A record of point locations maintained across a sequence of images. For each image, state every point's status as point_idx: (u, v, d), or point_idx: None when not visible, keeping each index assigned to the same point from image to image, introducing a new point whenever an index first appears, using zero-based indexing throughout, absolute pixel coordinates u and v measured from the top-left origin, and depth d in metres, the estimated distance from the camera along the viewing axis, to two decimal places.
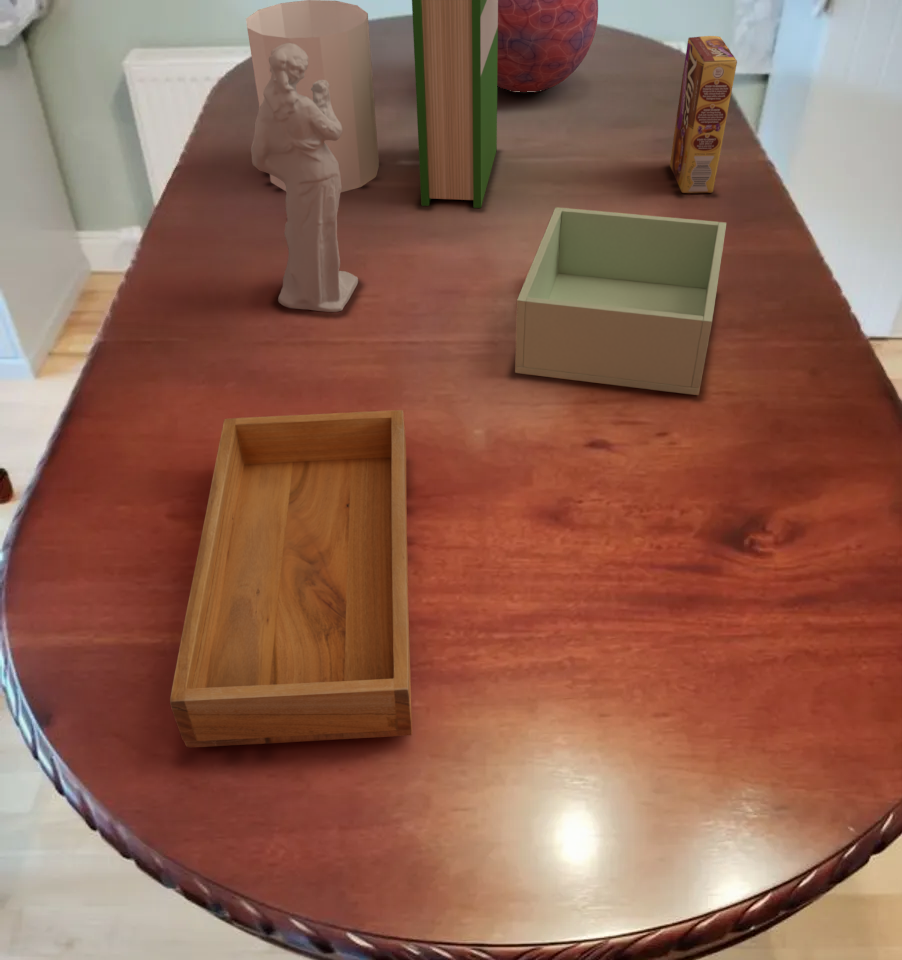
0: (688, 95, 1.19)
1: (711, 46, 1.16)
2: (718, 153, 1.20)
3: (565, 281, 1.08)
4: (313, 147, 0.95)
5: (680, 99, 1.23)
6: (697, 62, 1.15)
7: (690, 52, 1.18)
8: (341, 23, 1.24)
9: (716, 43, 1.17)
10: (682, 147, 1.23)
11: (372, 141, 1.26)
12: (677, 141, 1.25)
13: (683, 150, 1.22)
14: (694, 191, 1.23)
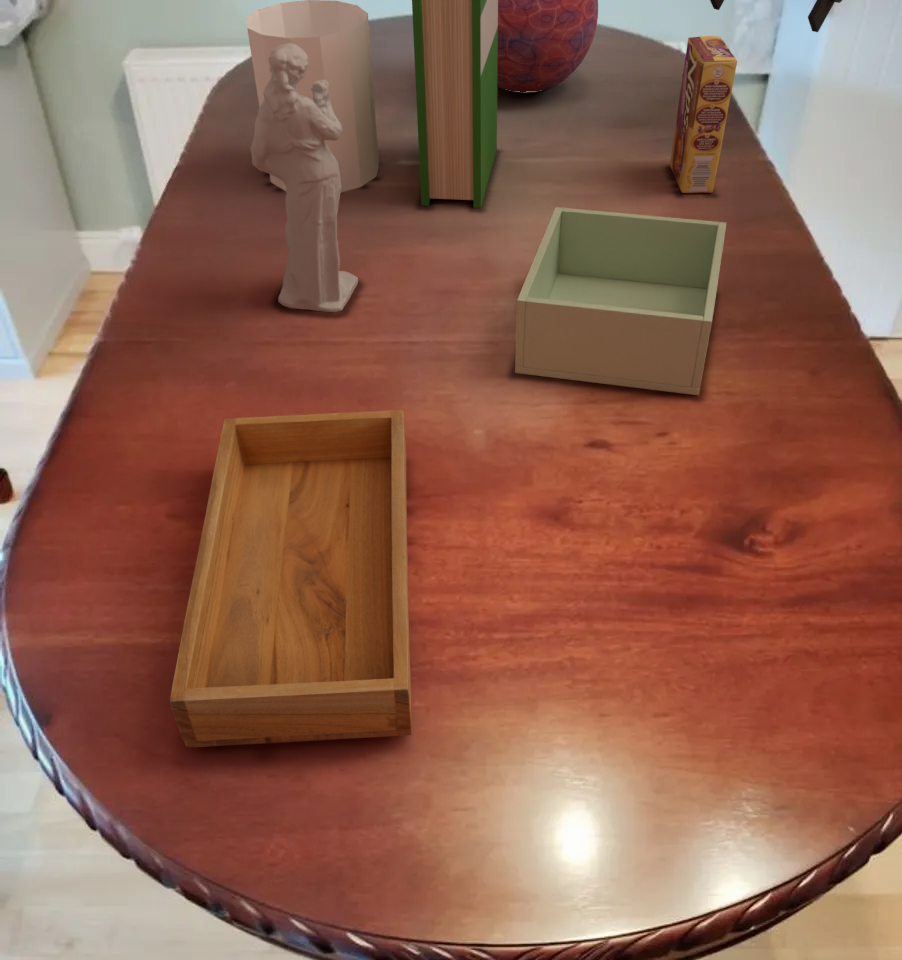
0: (688, 95, 1.19)
1: (711, 46, 1.16)
2: (718, 153, 1.20)
3: (565, 281, 1.08)
4: (313, 147, 0.95)
5: (680, 99, 1.23)
6: (697, 62, 1.15)
7: (690, 52, 1.18)
8: (341, 23, 1.24)
9: (716, 43, 1.17)
10: (682, 147, 1.23)
11: (372, 141, 1.26)
12: (677, 141, 1.25)
13: (683, 150, 1.22)
14: (694, 191, 1.23)
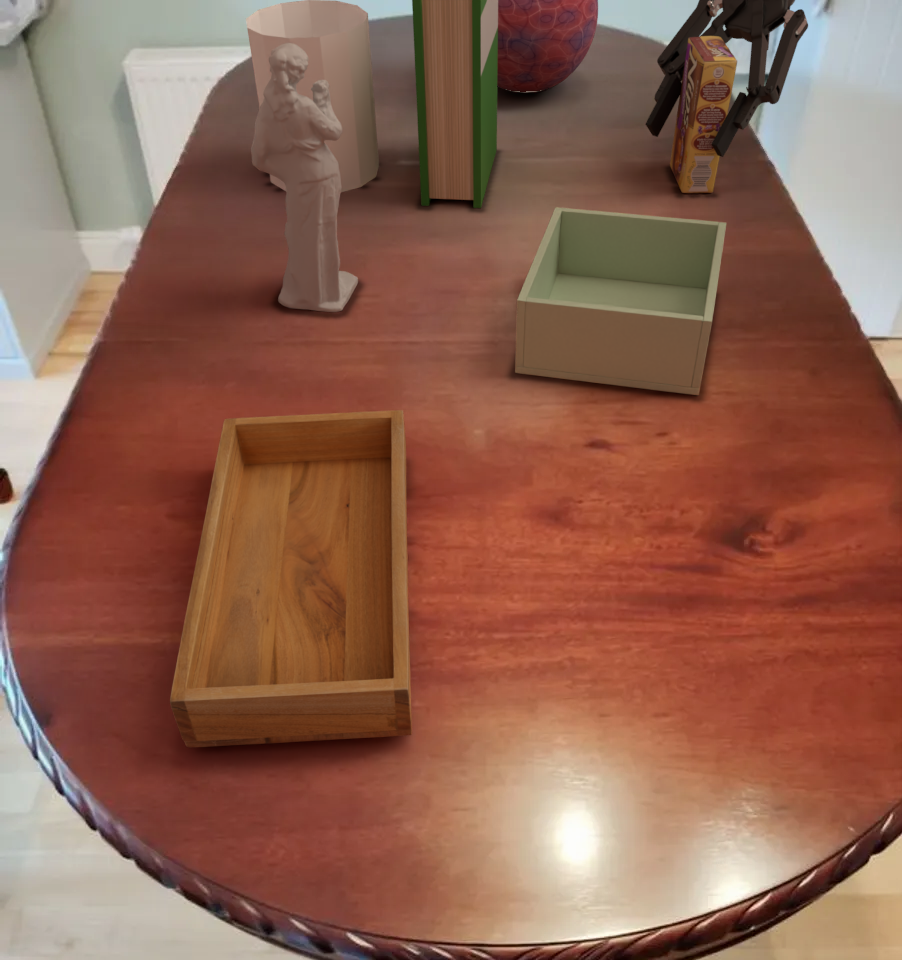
0: (688, 95, 1.19)
1: (712, 46, 1.16)
2: None
3: (565, 281, 1.08)
4: (313, 147, 0.95)
5: (680, 99, 1.23)
6: (698, 62, 1.15)
7: (690, 52, 1.18)
8: (341, 23, 1.24)
9: (716, 43, 1.17)
10: (682, 147, 1.23)
11: (372, 141, 1.26)
12: (677, 141, 1.25)
13: (683, 150, 1.22)
14: (694, 191, 1.23)
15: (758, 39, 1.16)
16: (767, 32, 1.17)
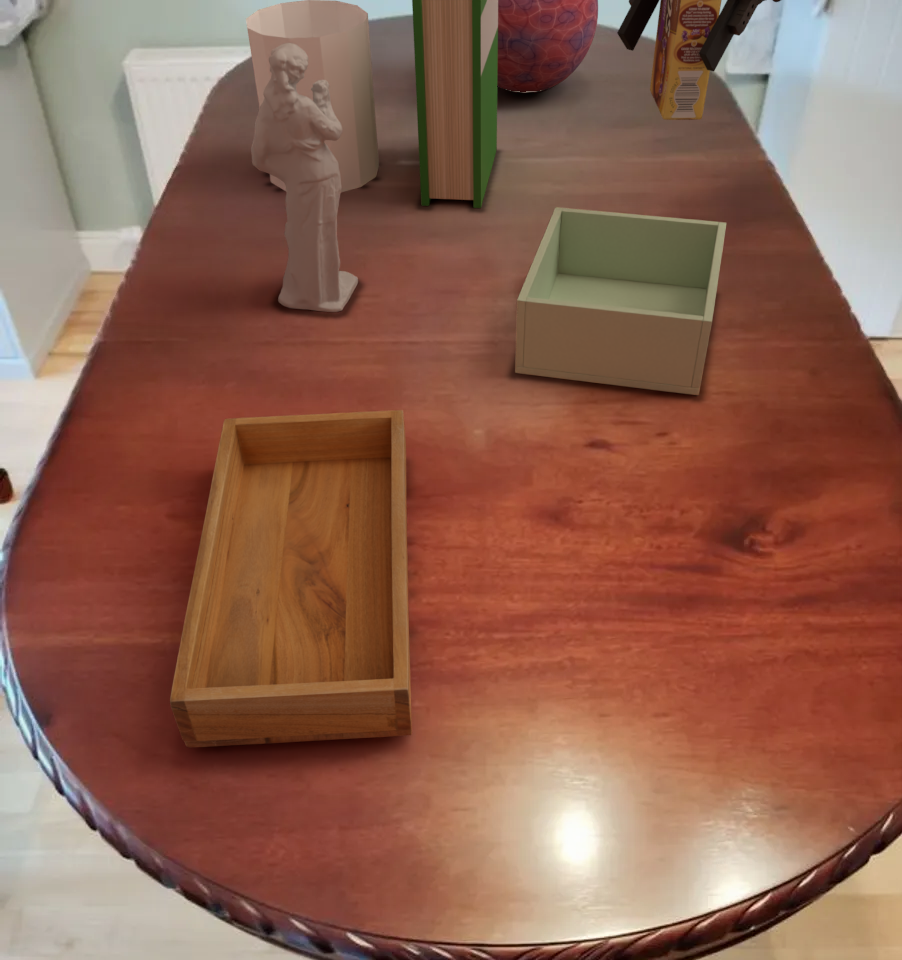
0: None
1: None
2: None
3: (565, 281, 1.08)
4: (313, 147, 0.95)
5: (661, 2, 0.98)
6: None
7: None
8: (341, 23, 1.24)
9: None
10: (663, 62, 0.98)
11: (372, 141, 1.26)
12: (658, 56, 1.00)
13: (665, 65, 0.98)
14: (678, 117, 0.99)
15: None
16: None
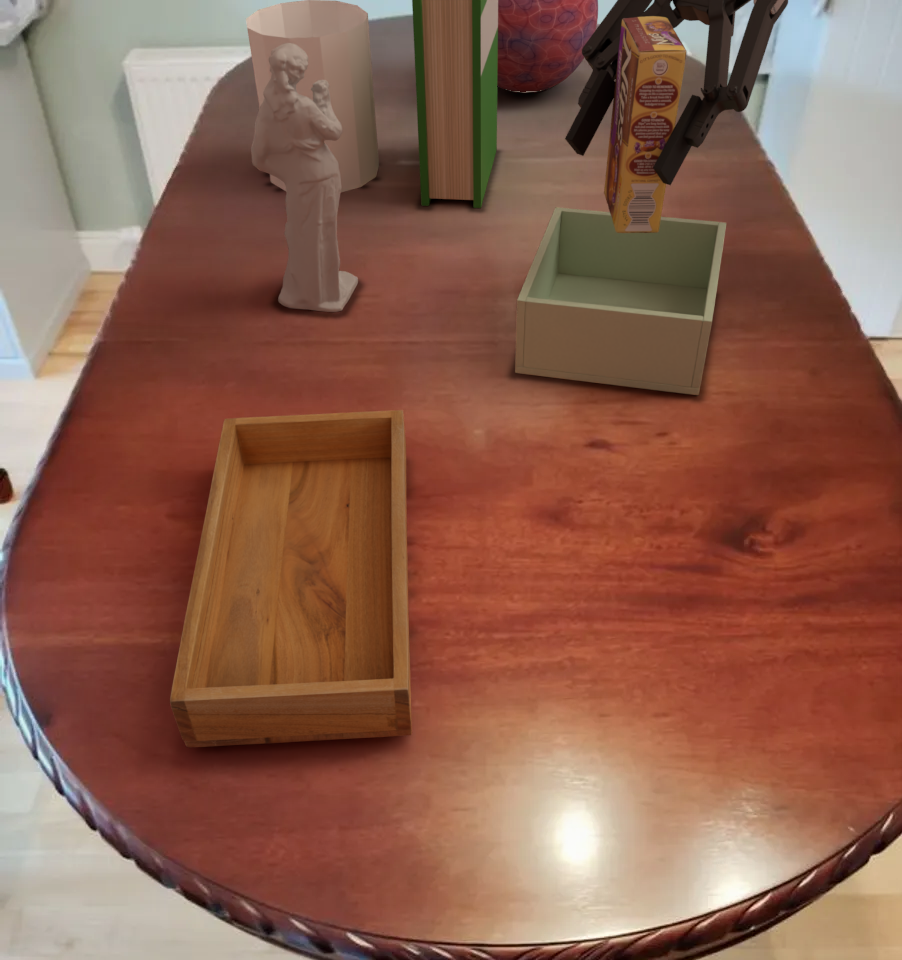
0: (622, 99, 0.86)
1: (653, 30, 0.82)
2: None
3: (565, 281, 1.08)
4: (313, 147, 0.95)
5: (614, 104, 0.89)
6: (632, 52, 0.82)
7: (624, 39, 0.84)
8: (341, 23, 1.24)
9: (659, 26, 0.83)
10: (616, 170, 0.89)
11: (372, 141, 1.26)
12: (611, 161, 0.91)
13: (617, 175, 0.89)
14: (633, 231, 0.90)
15: (718, 21, 0.83)
16: (731, 11, 0.84)
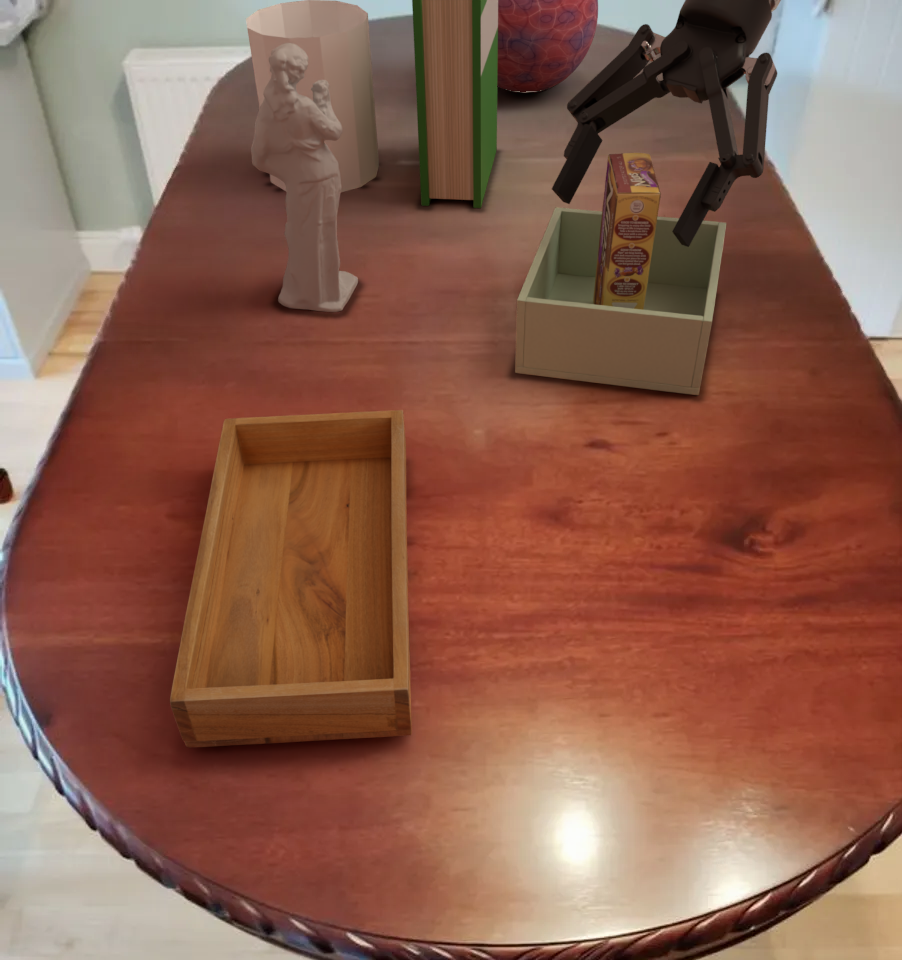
0: (606, 226, 0.94)
1: (633, 169, 0.91)
2: (642, 300, 0.95)
3: (565, 281, 1.08)
4: (313, 147, 0.95)
5: (601, 226, 0.98)
6: (613, 190, 0.90)
7: (609, 174, 0.93)
8: (341, 23, 1.24)
9: (640, 165, 0.92)
10: (600, 287, 0.98)
11: (372, 141, 1.26)
12: (597, 277, 1.00)
13: (601, 292, 0.97)
14: None
15: (717, 96, 0.87)
16: (725, 86, 0.88)
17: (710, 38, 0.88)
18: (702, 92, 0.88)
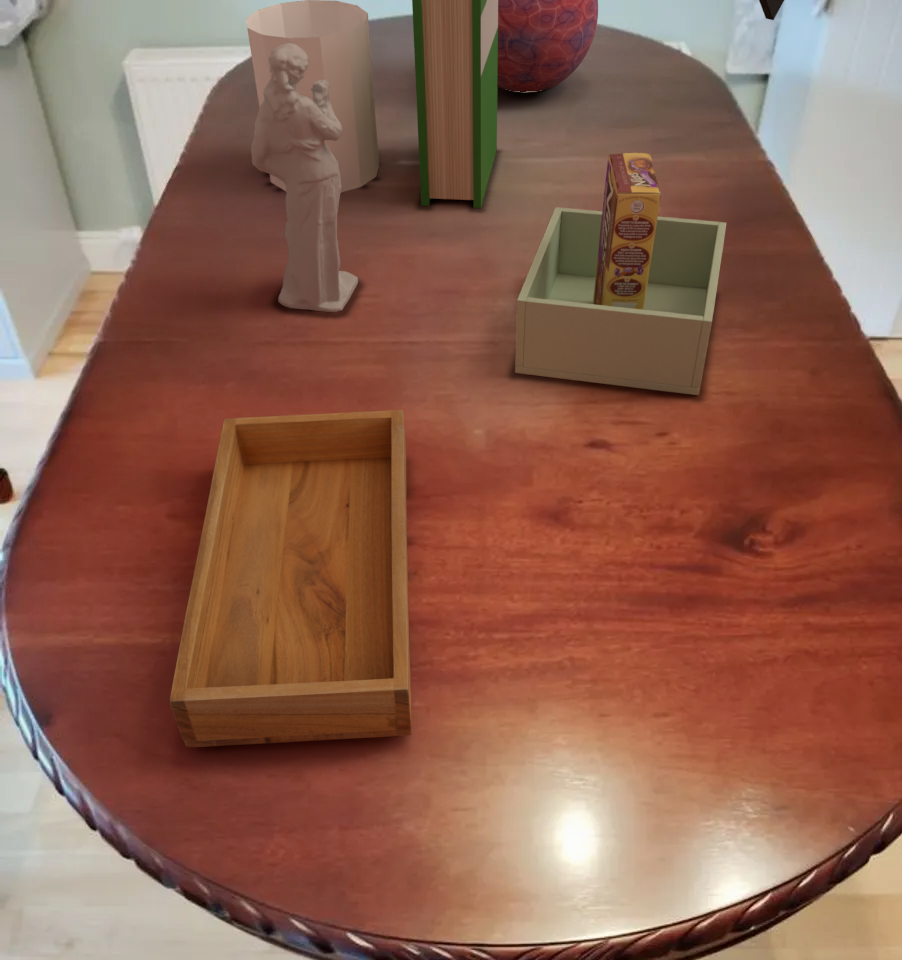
0: (606, 226, 0.94)
1: (633, 169, 0.91)
2: (642, 300, 0.95)
3: (565, 281, 1.08)
4: (313, 147, 0.95)
5: (601, 226, 0.98)
6: (614, 190, 0.90)
7: (609, 174, 0.93)
8: (341, 23, 1.24)
9: (641, 165, 0.92)
10: (600, 287, 0.98)
11: (372, 141, 1.26)
12: (597, 277, 1.00)
13: (601, 292, 0.97)
14: None
15: None
16: None
17: None
18: None
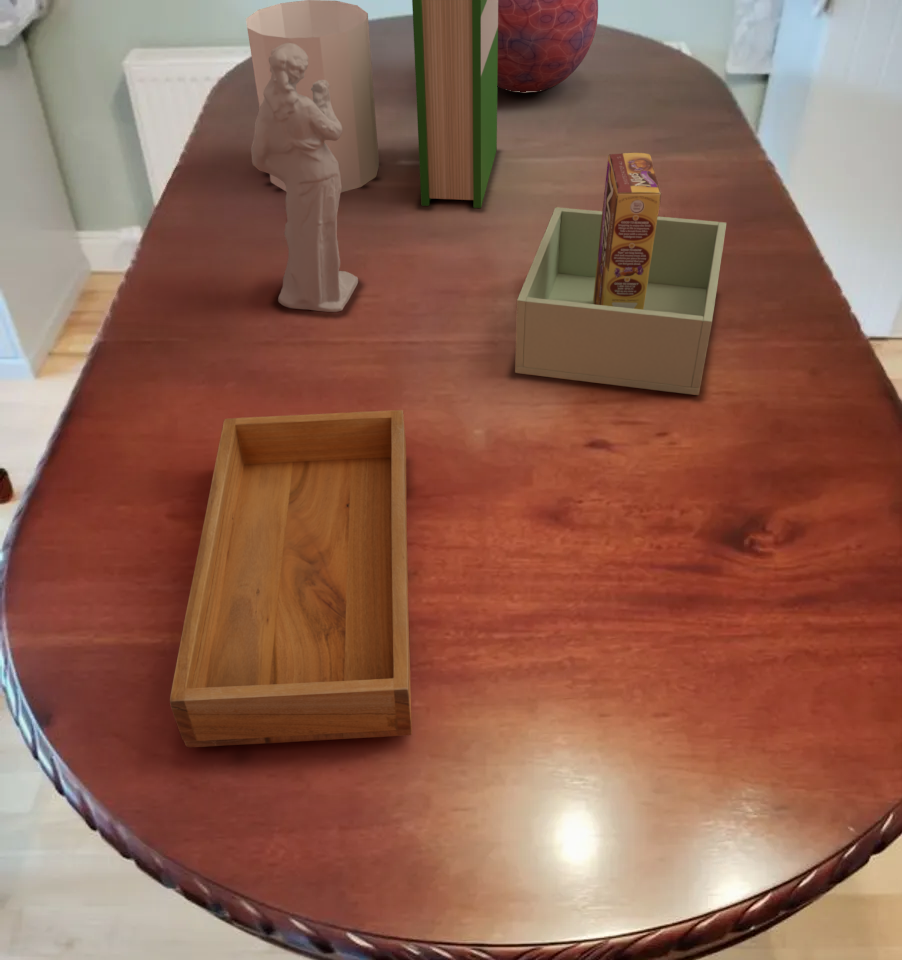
0: (606, 226, 0.94)
1: (633, 169, 0.91)
2: (642, 300, 0.95)
3: (565, 281, 1.08)
4: (313, 147, 0.95)
5: (601, 226, 0.98)
6: (614, 190, 0.90)
7: (609, 174, 0.93)
8: (341, 23, 1.24)
9: (641, 165, 0.92)
10: (600, 287, 0.98)
11: (372, 141, 1.26)
12: (597, 277, 1.00)
13: (601, 292, 0.97)
14: None
15: None
16: None
17: None
18: None
